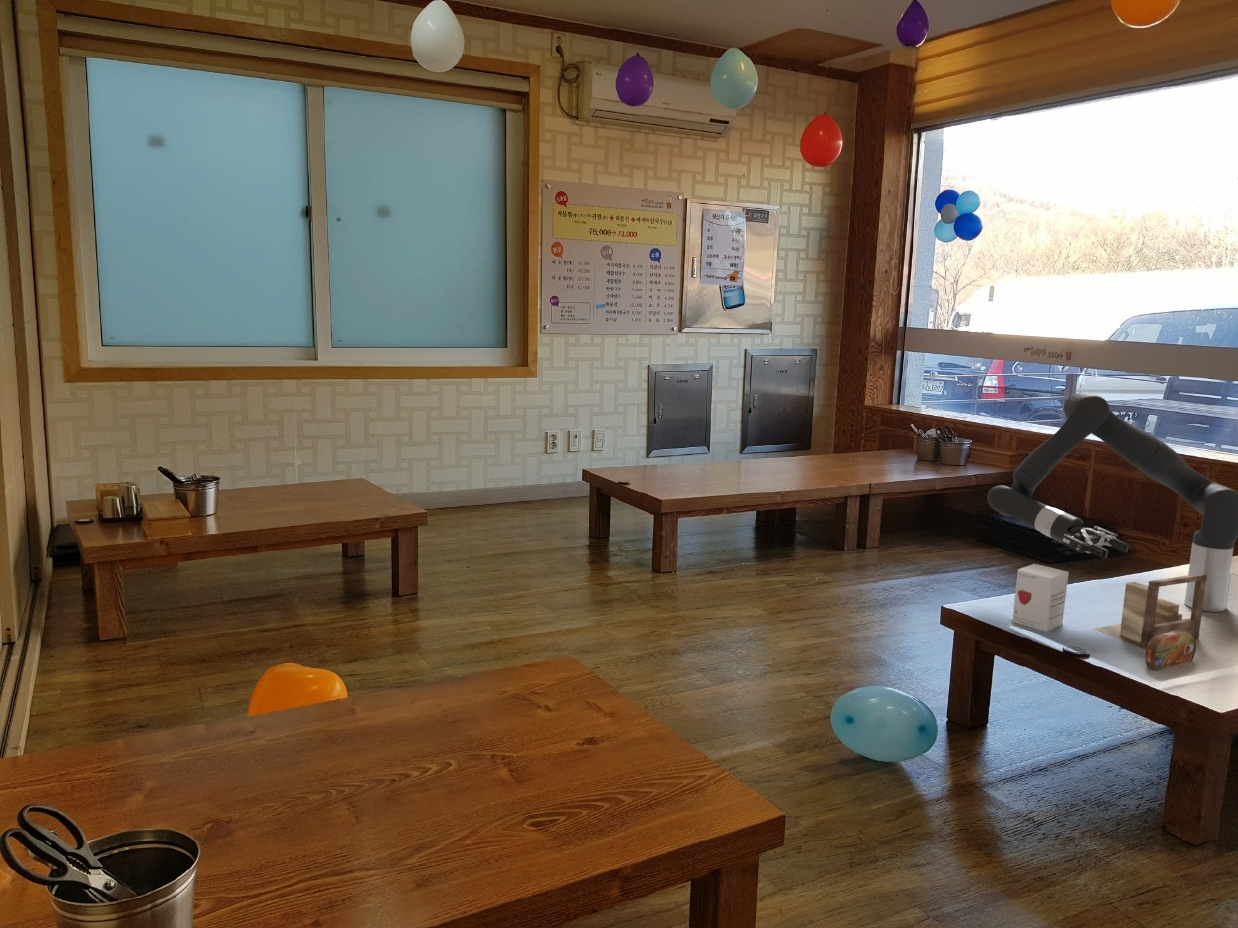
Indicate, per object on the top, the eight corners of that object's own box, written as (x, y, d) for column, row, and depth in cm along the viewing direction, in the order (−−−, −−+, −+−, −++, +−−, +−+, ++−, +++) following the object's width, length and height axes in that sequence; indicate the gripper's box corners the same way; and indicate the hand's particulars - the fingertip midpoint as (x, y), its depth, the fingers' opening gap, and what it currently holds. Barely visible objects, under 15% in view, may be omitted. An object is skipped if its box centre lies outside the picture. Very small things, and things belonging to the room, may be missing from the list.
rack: (1144, 624, 229) (1152, 558, 226) (1197, 643, 216) (1207, 574, 213) (1093, 633, 222) (1100, 565, 219) (1144, 653, 210) (1153, 582, 207)
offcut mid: (1157, 616, 224) (1159, 607, 224) (1181, 623, 219) (1182, 614, 219) (1148, 619, 222) (1149, 610, 222) (1172, 626, 217) (1173, 617, 217)
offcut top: (1160, 607, 224) (1161, 598, 223) (1178, 614, 219) (1179, 605, 218) (1149, 609, 223) (1150, 599, 222) (1167, 615, 218) (1168, 606, 217)
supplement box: (1010, 626, 227) (1015, 568, 224) (1027, 618, 232) (1033, 562, 229) (1046, 636, 220) (1052, 577, 217) (1063, 628, 225) (1069, 571, 223)
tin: (1154, 677, 196) (1158, 640, 195) (1140, 672, 199) (1144, 635, 198) (1195, 665, 203) (1200, 630, 202) (1181, 660, 206) (1185, 625, 205)
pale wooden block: (1128, 632, 219) (1134, 581, 217) (1149, 640, 214) (1155, 588, 212) (1119, 634, 218) (1126, 583, 216) (1140, 642, 213) (1147, 589, 211)
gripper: (1044, 516, 229) (1104, 543, 216) (1079, 507, 236) (1138, 533, 223) (1037, 542, 232) (1095, 570, 219) (1071, 533, 239) (1129, 560, 226)
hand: (1117, 551), depth 221 cm, fingers open, 8 cm apart
